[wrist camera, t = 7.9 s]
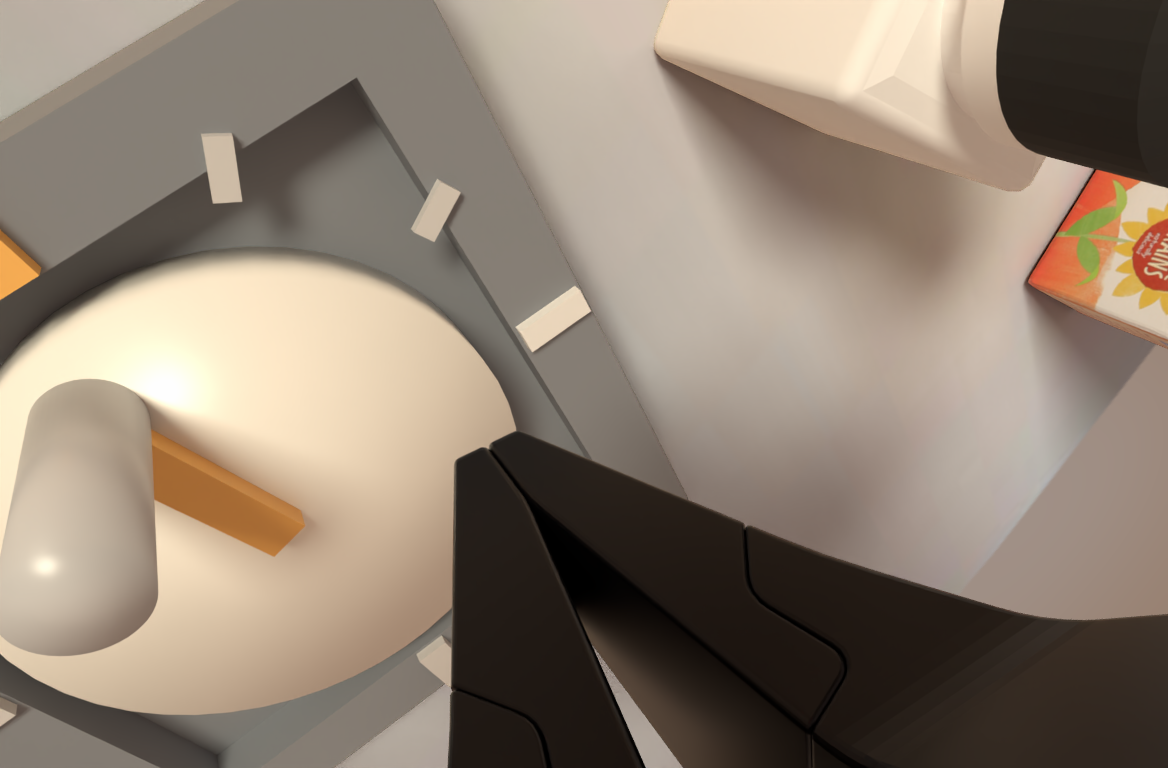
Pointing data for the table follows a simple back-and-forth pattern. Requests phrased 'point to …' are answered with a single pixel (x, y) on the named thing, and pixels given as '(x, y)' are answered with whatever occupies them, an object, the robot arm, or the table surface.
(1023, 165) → the medicine bottle
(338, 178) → the dial panel
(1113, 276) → the cracker box
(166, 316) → the dial
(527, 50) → the table surface
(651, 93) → the table surface
